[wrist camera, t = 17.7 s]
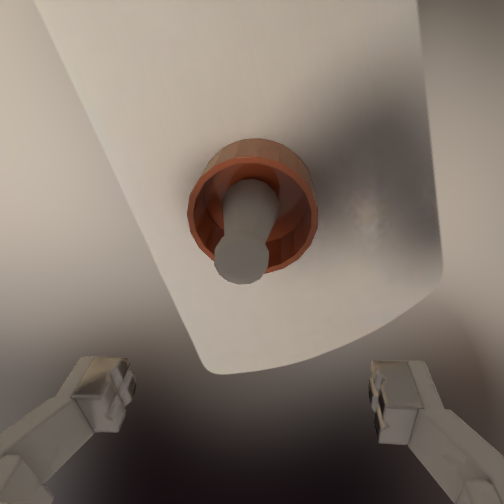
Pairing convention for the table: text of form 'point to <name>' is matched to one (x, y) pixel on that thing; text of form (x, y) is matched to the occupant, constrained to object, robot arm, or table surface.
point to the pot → (277, 177)
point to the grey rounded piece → (246, 231)
